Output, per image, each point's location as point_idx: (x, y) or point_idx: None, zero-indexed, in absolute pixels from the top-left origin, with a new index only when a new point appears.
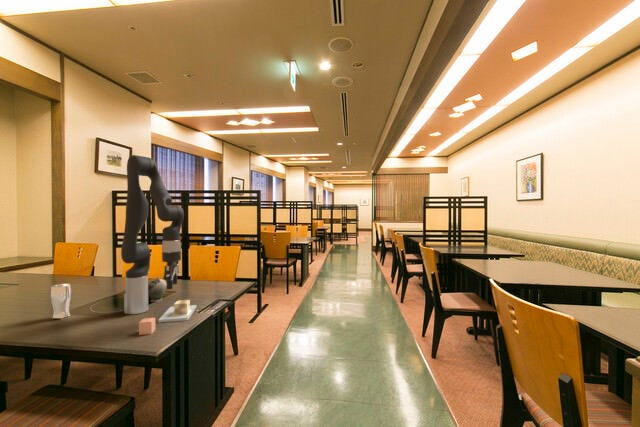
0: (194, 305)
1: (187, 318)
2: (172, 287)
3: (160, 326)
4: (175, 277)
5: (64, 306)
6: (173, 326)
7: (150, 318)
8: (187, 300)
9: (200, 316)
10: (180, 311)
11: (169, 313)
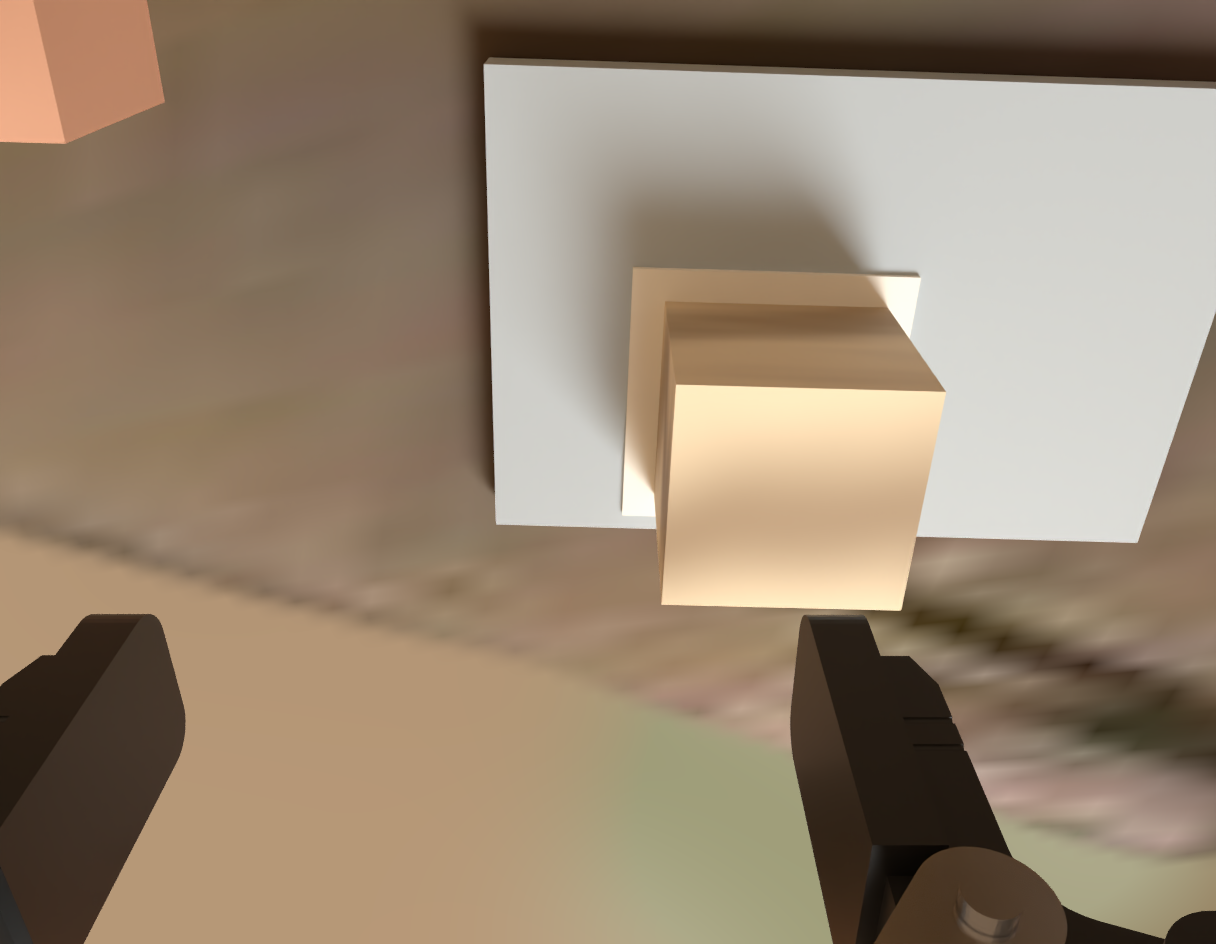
0: (1119, 521)
1: (498, 514)
2: (151, 767)
3: (294, 150)
4: (836, 913)
5: None
6: (275, 356)
7: (8, 55)
8: (869, 579)
9: (632, 632)
10: (661, 424)
11: (811, 183)
